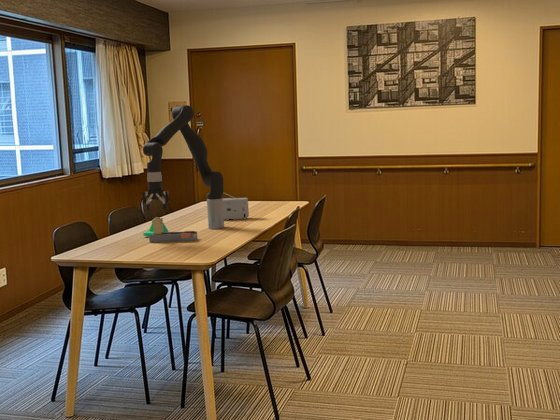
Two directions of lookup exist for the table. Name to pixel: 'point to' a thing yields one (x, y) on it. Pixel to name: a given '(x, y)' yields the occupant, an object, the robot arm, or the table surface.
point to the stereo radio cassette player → (235, 208)
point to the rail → (174, 237)
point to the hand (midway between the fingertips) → (156, 210)
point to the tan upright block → (158, 225)
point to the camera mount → (153, 230)
